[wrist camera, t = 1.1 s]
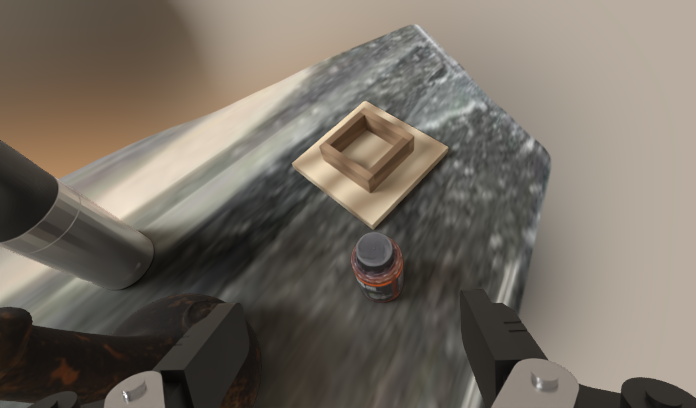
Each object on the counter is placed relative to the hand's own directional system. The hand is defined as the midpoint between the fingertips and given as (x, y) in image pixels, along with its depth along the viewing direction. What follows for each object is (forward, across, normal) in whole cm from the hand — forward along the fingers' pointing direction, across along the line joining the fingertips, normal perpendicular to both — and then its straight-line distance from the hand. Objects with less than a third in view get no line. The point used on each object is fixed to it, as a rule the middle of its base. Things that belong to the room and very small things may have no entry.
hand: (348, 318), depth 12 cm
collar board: (+45, +1, 0) cm, 45 cm away
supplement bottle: (+31, 0, +14) cm, 34 cm away
